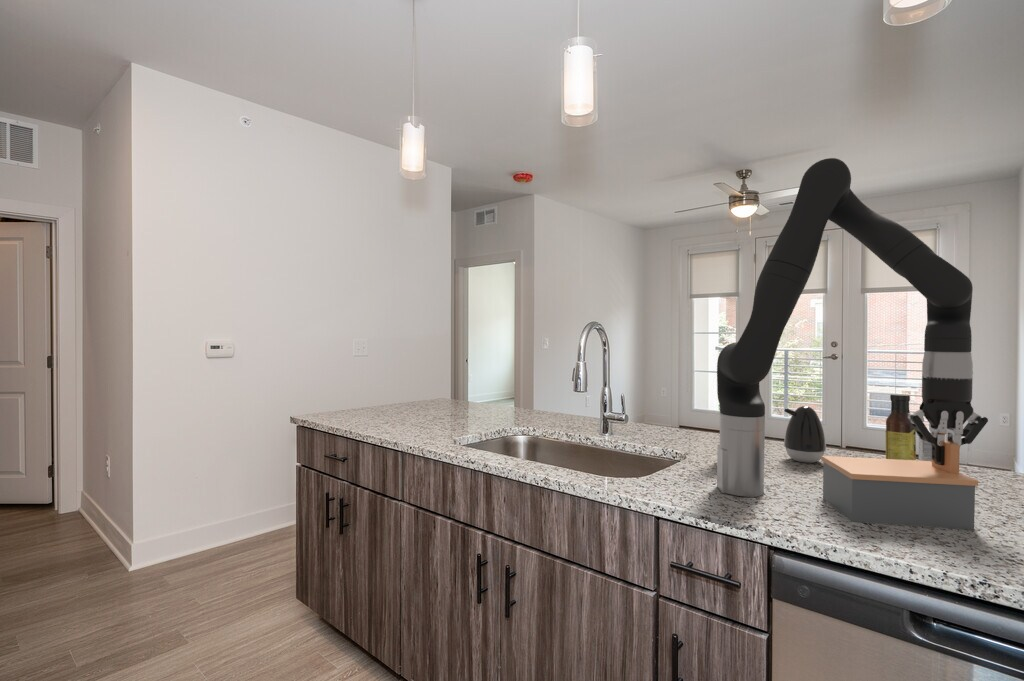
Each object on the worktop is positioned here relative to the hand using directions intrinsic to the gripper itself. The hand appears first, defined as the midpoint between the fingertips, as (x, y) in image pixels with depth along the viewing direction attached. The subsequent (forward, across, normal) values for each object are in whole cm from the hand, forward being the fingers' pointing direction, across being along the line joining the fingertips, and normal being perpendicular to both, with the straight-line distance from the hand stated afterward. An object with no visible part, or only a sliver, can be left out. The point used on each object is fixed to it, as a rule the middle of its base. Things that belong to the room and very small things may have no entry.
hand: (945, 464), depth 102 cm
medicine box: (+10, -19, -41) cm, 46 cm away
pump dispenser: (+10, +11, -43) cm, 46 cm away
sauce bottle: (+10, -9, -35) cm, 38 cm away
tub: (+10, +9, 0) cm, 14 cm away
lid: (+2, +9, 0) cm, 9 cm away
